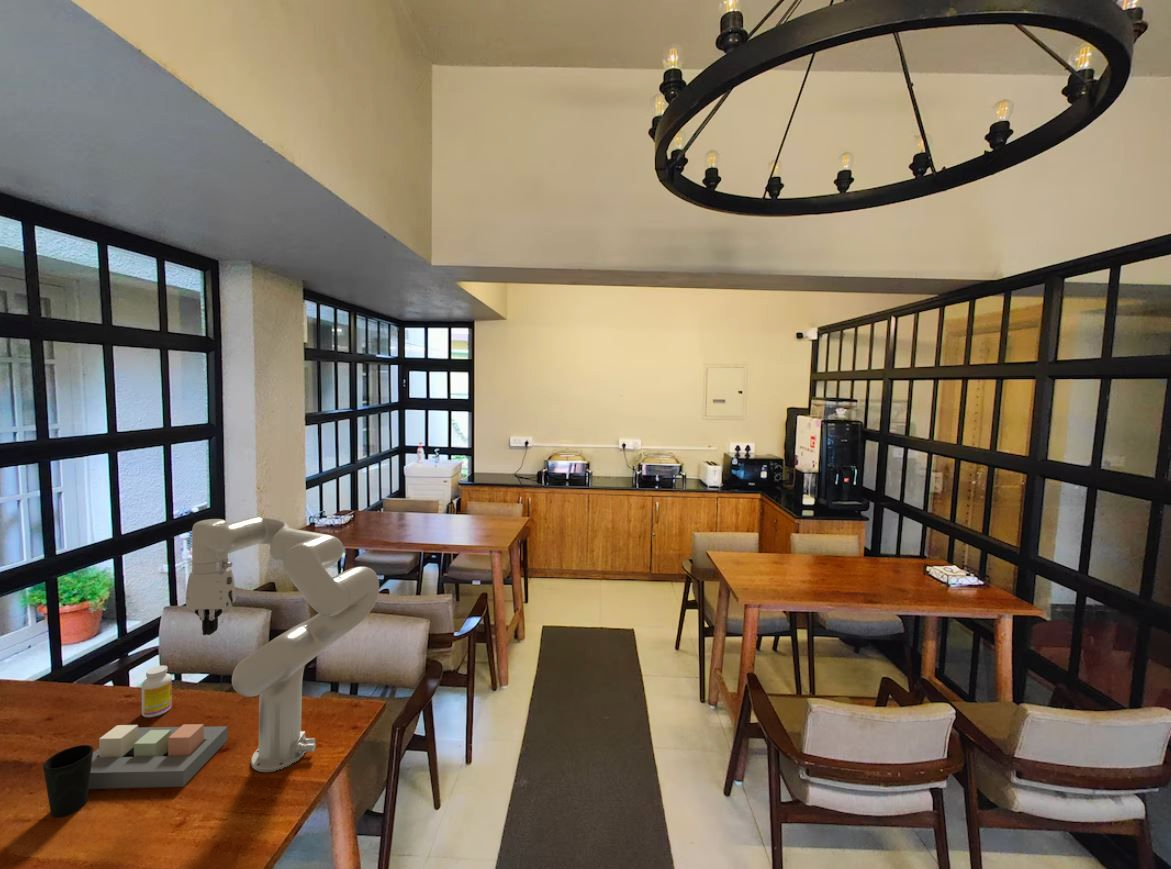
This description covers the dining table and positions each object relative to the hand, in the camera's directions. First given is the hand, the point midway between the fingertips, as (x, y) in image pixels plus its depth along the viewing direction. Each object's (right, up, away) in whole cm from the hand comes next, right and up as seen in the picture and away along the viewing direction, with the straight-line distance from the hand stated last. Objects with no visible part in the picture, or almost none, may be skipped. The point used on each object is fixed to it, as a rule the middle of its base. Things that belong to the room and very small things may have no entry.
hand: (210, 632), depth 127 cm
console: (-10, -31, -6) cm, 33 cm away
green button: (-10, -29, -6) cm, 31 cm away
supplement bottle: (-27, -29, +13) cm, 42 cm away
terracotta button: (-2, -28, -6) cm, 28 cm away
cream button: (-18, -27, -7) cm, 33 cm away
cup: (-16, -32, -20) cm, 41 cm away
